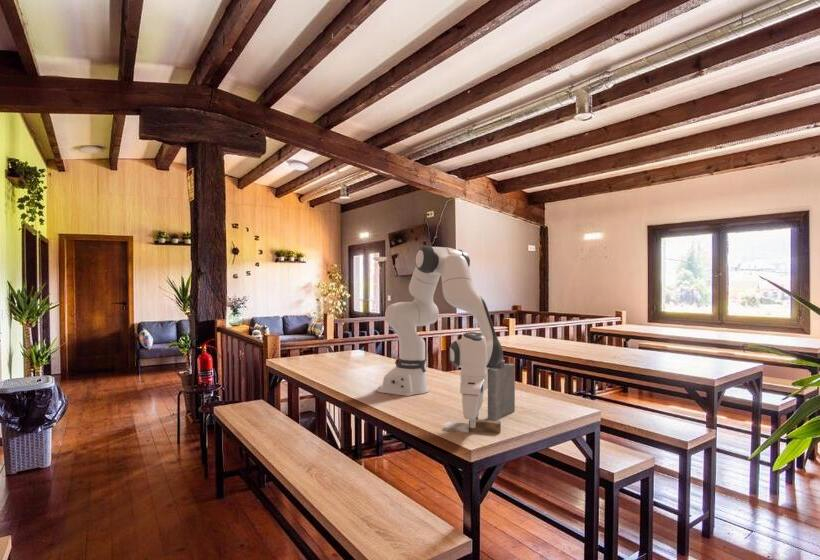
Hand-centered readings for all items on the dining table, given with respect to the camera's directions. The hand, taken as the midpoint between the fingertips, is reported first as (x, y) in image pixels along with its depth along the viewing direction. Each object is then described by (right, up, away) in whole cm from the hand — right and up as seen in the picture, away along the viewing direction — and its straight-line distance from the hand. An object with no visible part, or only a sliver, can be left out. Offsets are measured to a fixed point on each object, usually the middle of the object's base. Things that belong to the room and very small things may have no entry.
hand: (474, 424), depth 150 cm
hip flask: (+12, -2, +15) cm, 19 cm away
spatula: (-1, -2, 0) cm, 2 cm away
